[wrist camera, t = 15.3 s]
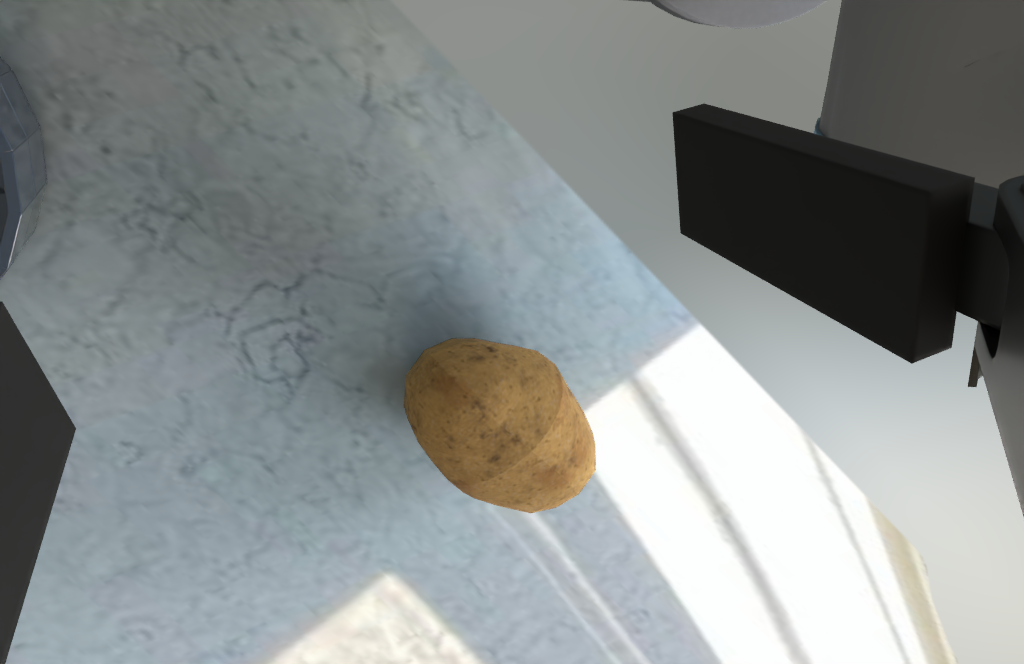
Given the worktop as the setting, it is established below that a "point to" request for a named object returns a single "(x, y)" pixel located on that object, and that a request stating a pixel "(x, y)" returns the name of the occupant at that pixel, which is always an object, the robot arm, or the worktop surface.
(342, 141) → the worktop surface
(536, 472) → the potato
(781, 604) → the worktop surface
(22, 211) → the blue grey bowl
